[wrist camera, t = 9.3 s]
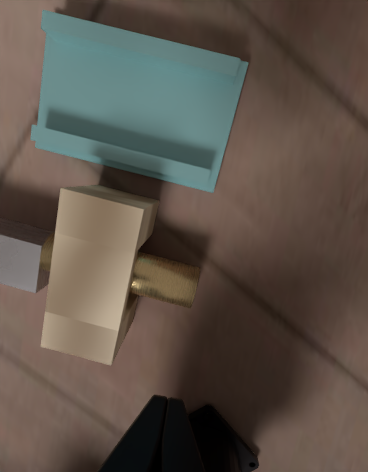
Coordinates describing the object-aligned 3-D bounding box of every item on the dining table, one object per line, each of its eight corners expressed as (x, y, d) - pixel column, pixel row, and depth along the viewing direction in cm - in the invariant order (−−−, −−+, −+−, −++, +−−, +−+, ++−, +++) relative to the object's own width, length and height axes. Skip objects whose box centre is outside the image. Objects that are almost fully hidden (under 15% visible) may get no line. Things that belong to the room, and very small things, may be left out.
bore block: (159, 200, 16) (143, 209, 12) (132, 321, 18) (111, 365, 14) (98, 184, 16) (60, 187, 12) (78, 307, 18) (40, 346, 14)
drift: (200, 262, 16) (199, 276, 14) (190, 296, 17) (188, 316, 15) (66, 227, 17) (42, 235, 14) (61, 262, 17) (37, 276, 15)
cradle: (212, 192, 16) (214, 194, 14) (40, 148, 16) (21, 144, 14) (247, 66, 14) (252, 51, 12) (53, 18, 14) (33, -3, 12)
